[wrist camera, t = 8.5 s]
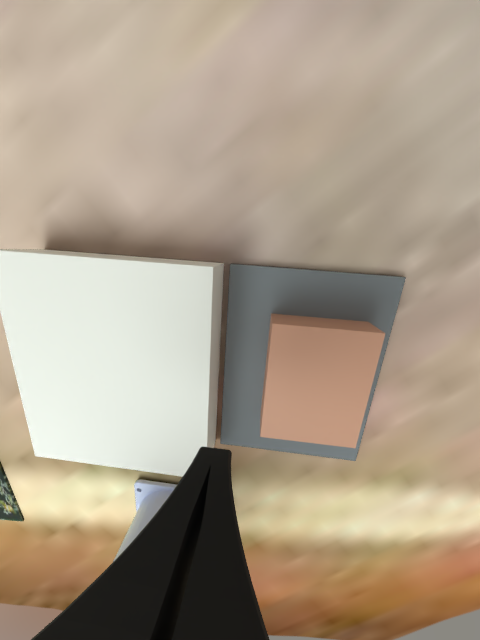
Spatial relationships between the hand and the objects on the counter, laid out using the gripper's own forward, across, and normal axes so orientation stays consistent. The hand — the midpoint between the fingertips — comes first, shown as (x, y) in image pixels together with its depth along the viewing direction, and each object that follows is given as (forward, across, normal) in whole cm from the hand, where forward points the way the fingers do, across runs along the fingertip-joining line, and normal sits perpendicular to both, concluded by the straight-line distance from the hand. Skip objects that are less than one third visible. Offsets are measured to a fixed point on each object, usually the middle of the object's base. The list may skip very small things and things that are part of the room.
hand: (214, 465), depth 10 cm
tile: (+8, -6, 0) cm, 10 cm away
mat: (+9, -5, 0) cm, 11 cm away
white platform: (+9, +8, 0) cm, 13 cm away
